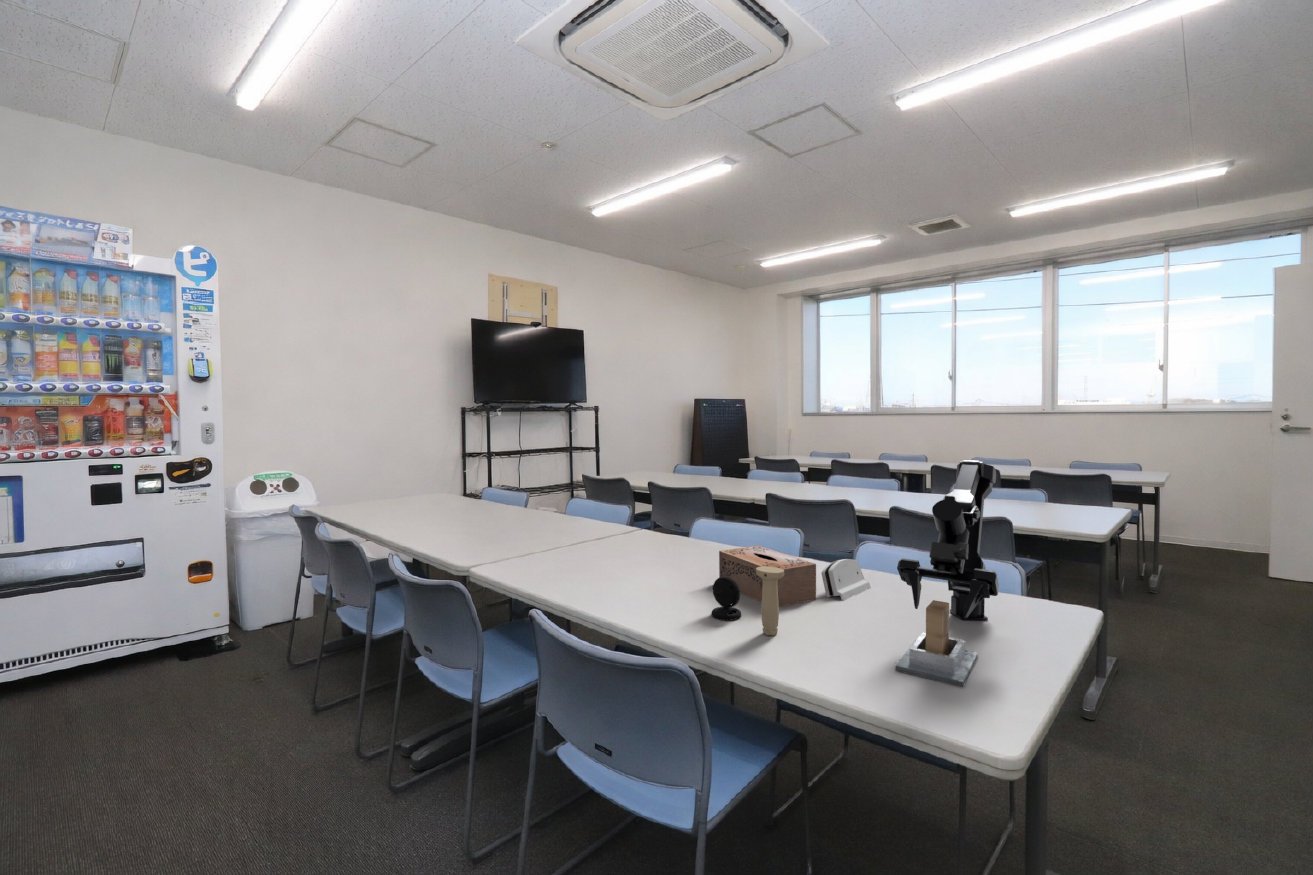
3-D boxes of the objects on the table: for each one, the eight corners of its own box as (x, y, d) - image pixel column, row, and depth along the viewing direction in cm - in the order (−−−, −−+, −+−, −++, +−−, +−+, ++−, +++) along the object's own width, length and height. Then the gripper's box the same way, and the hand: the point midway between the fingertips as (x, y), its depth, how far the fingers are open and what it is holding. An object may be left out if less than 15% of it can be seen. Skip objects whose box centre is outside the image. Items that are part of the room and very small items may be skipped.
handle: (778, 640, 131) (778, 574, 130) (752, 633, 135) (752, 569, 134) (787, 633, 135) (787, 569, 134) (762, 627, 139) (761, 565, 138)
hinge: (842, 600, 158) (831, 564, 160) (827, 602, 161) (817, 566, 163) (871, 587, 169) (860, 553, 171) (857, 589, 173) (846, 556, 175)
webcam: (747, 615, 147) (747, 576, 147) (730, 623, 142) (730, 582, 141) (722, 608, 152) (722, 570, 152) (705, 616, 147) (704, 576, 147)
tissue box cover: (816, 600, 159) (816, 563, 159) (774, 608, 153) (774, 570, 152) (758, 577, 182) (757, 545, 182) (719, 583, 176) (719, 550, 175)
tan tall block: (932, 652, 121) (933, 599, 121) (948, 655, 119) (949, 602, 119) (925, 662, 116) (926, 607, 116) (941, 666, 114) (942, 610, 114)
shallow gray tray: (915, 644, 128) (915, 626, 128) (977, 657, 120) (977, 638, 120) (895, 670, 115) (895, 650, 115) (963, 687, 108) (963, 665, 108)
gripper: (899, 521, 128) (884, 583, 120) (997, 531, 117) (988, 601, 108) (908, 550, 135) (895, 610, 126) (1002, 562, 123) (993, 629, 115)
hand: (940, 612), depth 119 cm, fingers open, 9 cm apart
